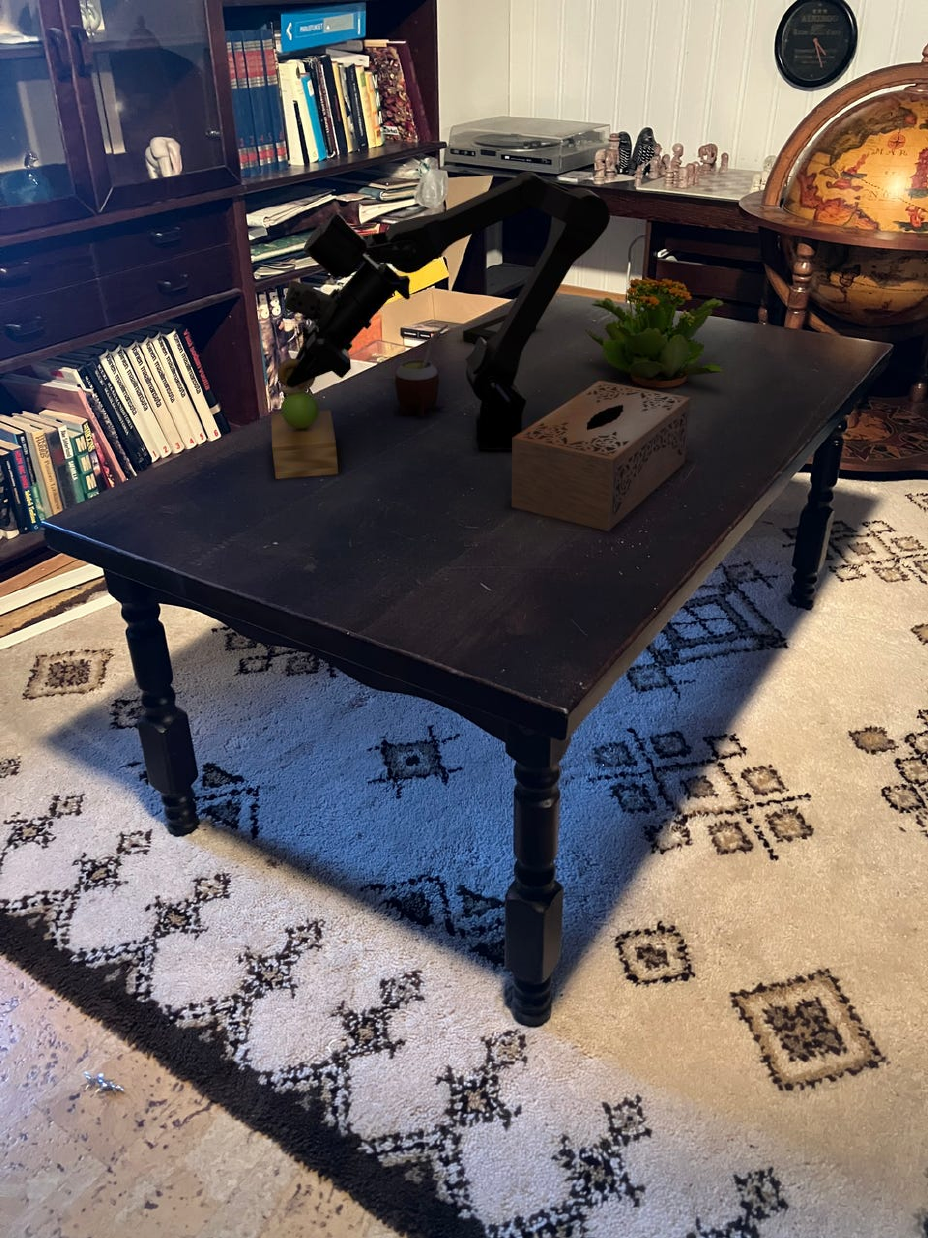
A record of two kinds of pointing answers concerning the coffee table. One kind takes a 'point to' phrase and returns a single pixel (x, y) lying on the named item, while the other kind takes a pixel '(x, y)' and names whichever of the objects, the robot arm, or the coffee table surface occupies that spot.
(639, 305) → the potted flower
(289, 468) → the tan rectangular block
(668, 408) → the tissue box cover
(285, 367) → the snail figurine
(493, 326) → the vhs tape
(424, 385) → the mate gourd
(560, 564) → the coffee table surface
